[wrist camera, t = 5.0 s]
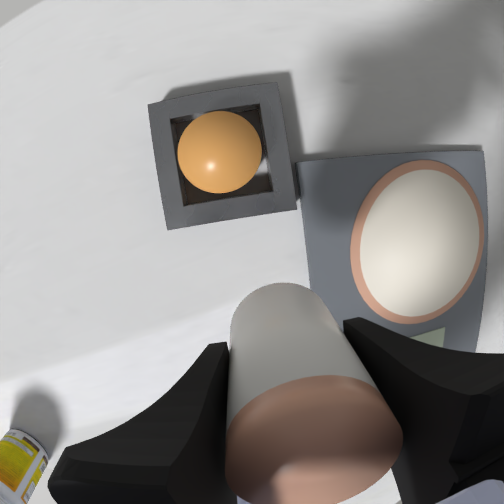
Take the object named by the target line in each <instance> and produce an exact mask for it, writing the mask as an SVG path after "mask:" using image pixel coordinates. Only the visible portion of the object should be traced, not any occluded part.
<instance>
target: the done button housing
mask: <svg viewBox="0 0 504 504" xmlns="http://www.w3.org/2000/svg"><path fill="white" fill-rule="evenodd" d="M256 109H258V111H259V117H260V123H261V130H262V136H263V142H264V148H265V155H266V161H267V168H268V174H269V181H270V188H271V191H265V192H259V193H252V194H246V195H239V196H233V197H227V198H221V199H215V200H209V201H203V202H198V203H192V204H188V203H187V197H186V191H185V185H184V179H183V173H182V170H181V168H180V165H179V161H178V140H177V134H176V127H175V123H179V122H184V121H189V120H194V119H196V118H198V117H200V116H201V115H204V114H206V113H210V112H214V111H226V112H231V113H235V112H241V111H248V110H256ZM148 112H149V120H150V127H151V135H152V142H153V149H154V156H155V162H156V169H157V175H158V181H159V187H160V193H161V198H162V204H163V210H164V215H165V220H166V226H167V230H172V229H178V228H184V227H190V226H195V225H201V224H207V223H213V222H219V221H225V220H232V219H238V218H244V217H250V216H257V215H263V214H270V213H277V212H283V211H290V210H297V205H296V198H295V190H294V183H293V176H292V169H291V163H290V156H289V150H288V143H287V137H286V131H285V125H284V119H283V113H282V107H281V101H280V95H279V90H278V84H277V82H275V83H265V84H257V85H249V86H241V87H234V88H228V89H221V90H215V91H210V92H204V93H199V94H193V95H188V96H183V97H179V98H174V99H169V100H165V101H161V102H157V103H152V104H148Z"/></svg>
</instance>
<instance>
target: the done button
mask: <svg viewBox="0 0 504 504" xmlns="http://www.w3.org/2000/svg"><path fill="white" fill-rule="evenodd" d="M261 155H262V148H261V142H260V138H259V136H258V134H257V132H256V130H255V129H254V127H253V126H252V125H251V124H250V123H249V122H248V121H247V120H246V119H245V118H243V117H241V116H239V115H237V114H235V113H231V112H226V111H214V112H210V113H206V114H204V115H201V116H200V117H198V118H196V119H195V120H193V121H192V122H191V123H190V124H189V125H188V126H187V128H186V129H185V130H184V132H183V134H182V136H181V138H180V141H179V145H178V161H179V165H180V168H181V170H182V172H183V174H184V175H185V177H186V178H187V179H188V180H189V181H190V182H191V183H192V184H193V185H194V186H196V187H198V188H199V189H201V190H204V191H207V192H211V193H227V192H231V191H234V190H236V189H238V188H240V187H242V186H243V185H245V184H246V183H247V182H248V181H249V180H250V179H251V178H252V177H253V176H254V174H255V173H256V171H257V169H258V167H259V164H260V161H261Z"/></svg>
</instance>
